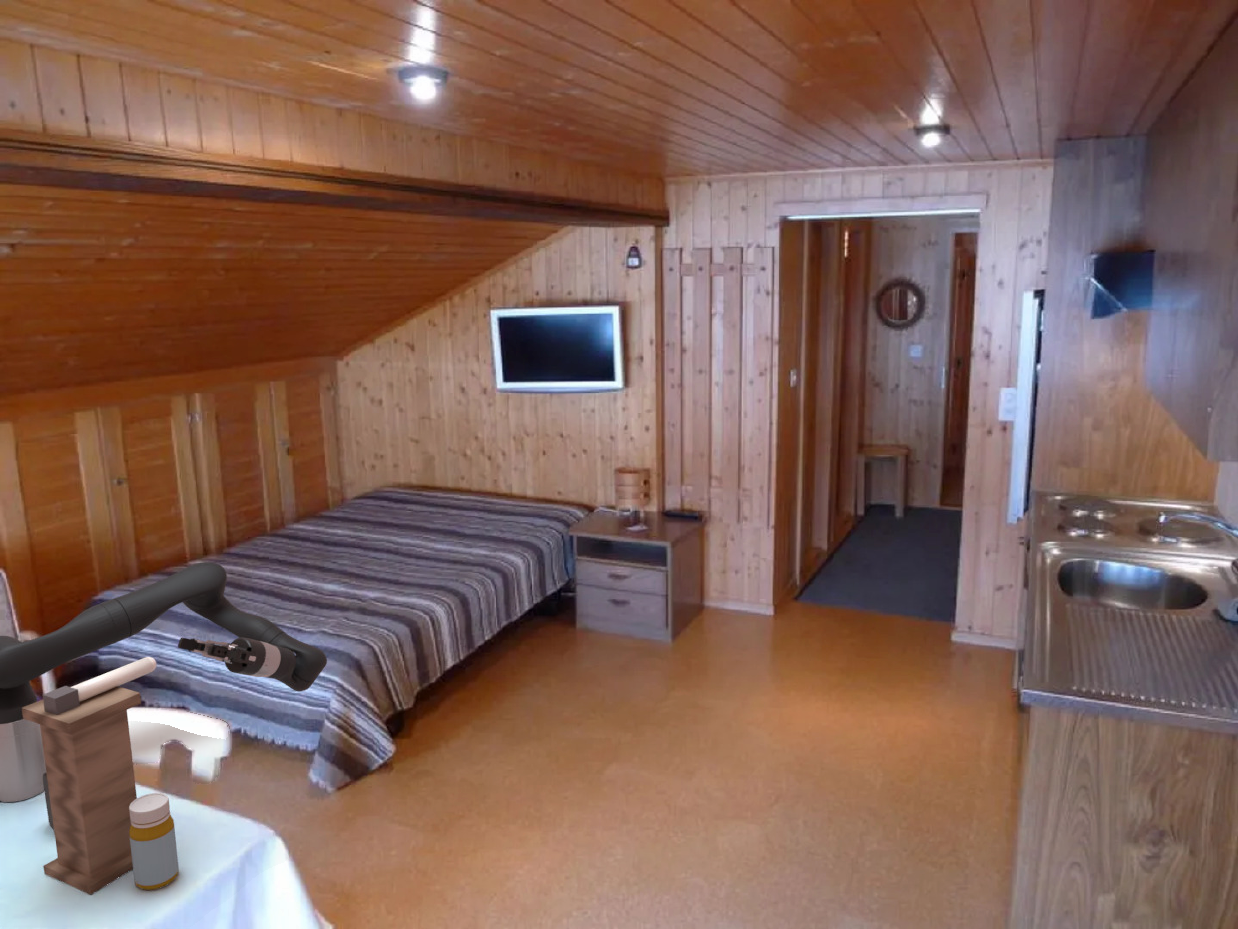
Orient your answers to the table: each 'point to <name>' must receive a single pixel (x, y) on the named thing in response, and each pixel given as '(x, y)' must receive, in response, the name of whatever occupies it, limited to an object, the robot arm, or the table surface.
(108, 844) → the pedestal
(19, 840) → the table surface
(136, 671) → the hammer
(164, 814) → the bottle
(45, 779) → the battery charger
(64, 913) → the table surface
